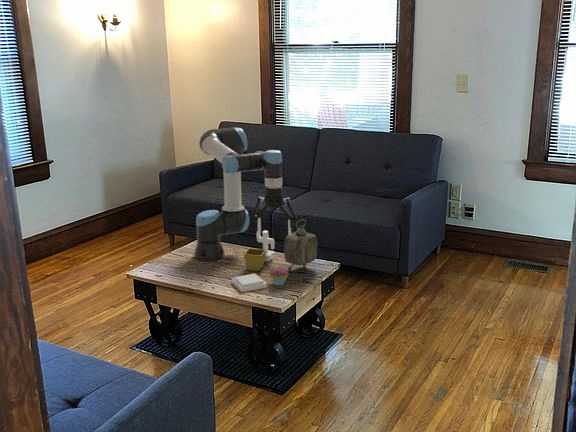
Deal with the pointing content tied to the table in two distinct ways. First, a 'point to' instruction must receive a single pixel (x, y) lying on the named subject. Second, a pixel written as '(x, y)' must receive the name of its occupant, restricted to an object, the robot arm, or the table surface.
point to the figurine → (266, 244)
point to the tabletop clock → (300, 247)
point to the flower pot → (254, 259)
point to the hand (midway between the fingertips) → (274, 234)
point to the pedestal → (249, 282)
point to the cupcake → (278, 275)
